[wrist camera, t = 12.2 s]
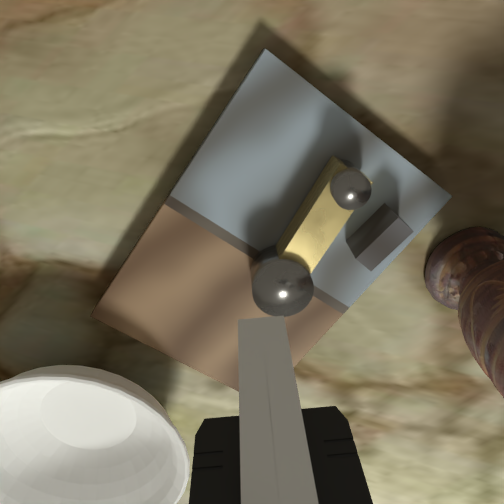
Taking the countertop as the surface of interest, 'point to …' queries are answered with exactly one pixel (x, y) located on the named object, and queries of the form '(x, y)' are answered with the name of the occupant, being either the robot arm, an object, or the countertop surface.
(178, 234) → the board
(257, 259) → the swing bar
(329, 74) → the countertop surface
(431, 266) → the mortar and pestle
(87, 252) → the countertop surface
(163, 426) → the bowl
